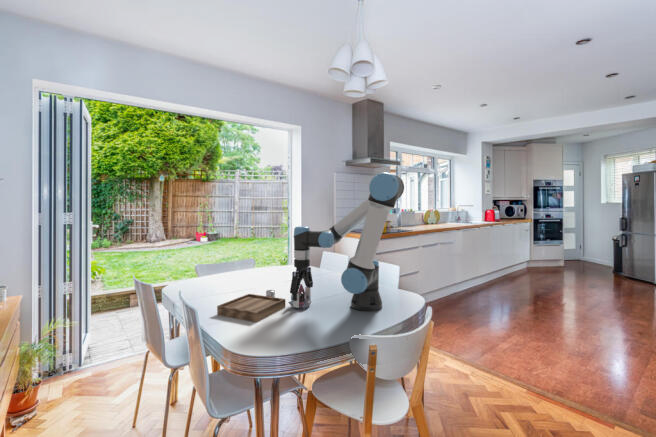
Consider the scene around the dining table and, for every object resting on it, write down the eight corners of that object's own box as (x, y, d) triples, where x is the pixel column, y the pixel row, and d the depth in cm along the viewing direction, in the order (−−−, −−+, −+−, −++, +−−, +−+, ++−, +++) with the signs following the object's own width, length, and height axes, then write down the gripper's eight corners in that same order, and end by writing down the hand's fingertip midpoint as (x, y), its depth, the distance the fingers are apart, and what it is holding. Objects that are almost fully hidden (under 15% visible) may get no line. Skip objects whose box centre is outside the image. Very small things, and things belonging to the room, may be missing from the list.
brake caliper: (311, 306, 150) (296, 284, 151) (293, 318, 152) (278, 297, 153) (317, 299, 161) (303, 279, 162) (300, 311, 163) (287, 291, 164)
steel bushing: (276, 299, 168) (276, 290, 168) (271, 302, 164) (271, 292, 164) (269, 298, 170) (269, 289, 169) (264, 301, 166) (264, 291, 165)
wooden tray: (285, 307, 156) (285, 299, 156) (256, 322, 136) (256, 312, 136) (249, 301, 165) (248, 293, 165) (217, 314, 145) (217, 305, 145)
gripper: (306, 254, 168) (307, 296, 169) (281, 261, 147) (282, 309, 148) (319, 255, 164) (319, 298, 165) (296, 263, 143) (296, 311, 144)
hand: (302, 303), depth 156 cm, fingers closed on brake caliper, 11 cm apart
